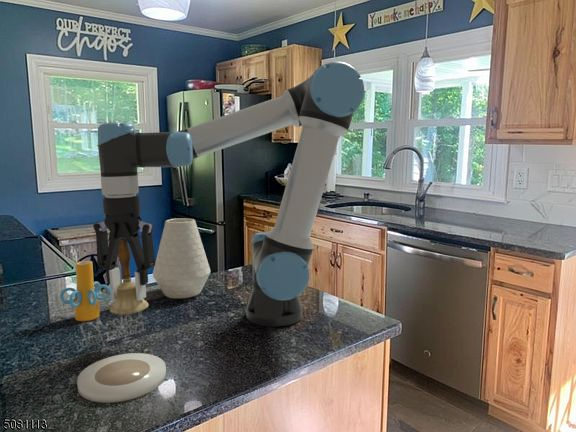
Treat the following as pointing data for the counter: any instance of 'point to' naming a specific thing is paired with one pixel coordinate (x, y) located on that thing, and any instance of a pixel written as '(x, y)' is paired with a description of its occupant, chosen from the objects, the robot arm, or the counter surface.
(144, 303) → the hand bell
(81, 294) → the cylinder
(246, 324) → the counter surface
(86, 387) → the hub plate
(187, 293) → the vase
